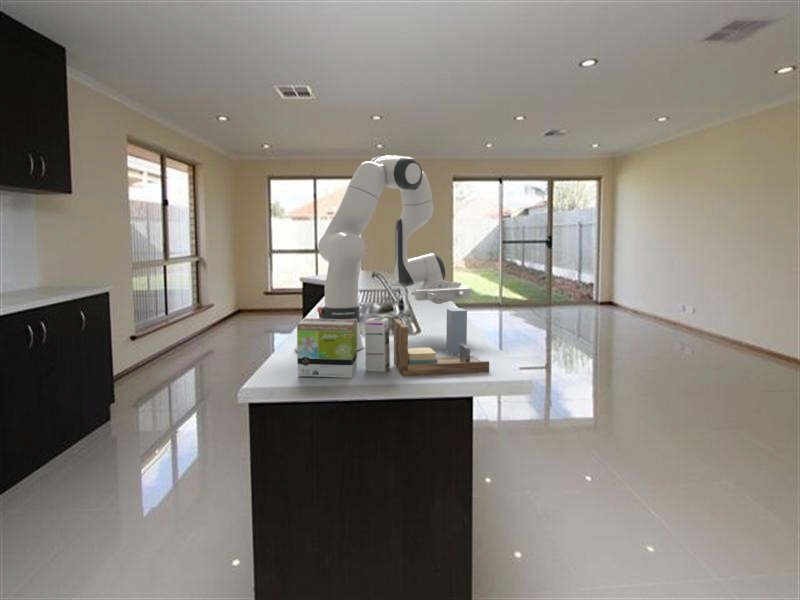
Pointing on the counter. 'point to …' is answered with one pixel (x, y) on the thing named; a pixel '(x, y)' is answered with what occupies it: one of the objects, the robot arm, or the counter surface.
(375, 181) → the robot arm
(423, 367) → the shelf
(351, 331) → the tea box
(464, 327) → the light blue upright block
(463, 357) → the bookend
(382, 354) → the syrup box
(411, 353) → the book stack
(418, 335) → the counter surface
